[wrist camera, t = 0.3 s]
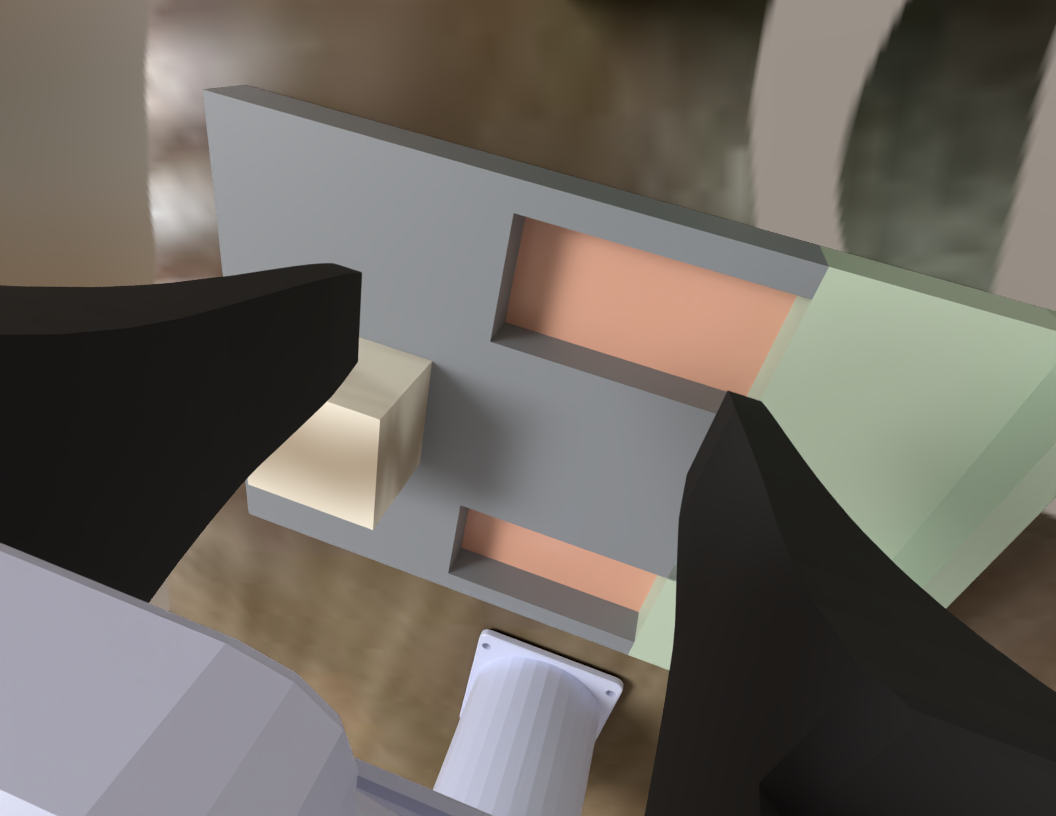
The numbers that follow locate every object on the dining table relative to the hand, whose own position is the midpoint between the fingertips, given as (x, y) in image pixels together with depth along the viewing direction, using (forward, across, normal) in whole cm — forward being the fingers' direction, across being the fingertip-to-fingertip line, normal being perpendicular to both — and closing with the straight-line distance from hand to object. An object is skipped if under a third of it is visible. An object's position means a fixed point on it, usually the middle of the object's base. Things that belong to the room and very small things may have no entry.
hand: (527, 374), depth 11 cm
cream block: (+8, +7, +8) cm, 13 cm away
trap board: (+10, 0, +8) cm, 13 cm away
